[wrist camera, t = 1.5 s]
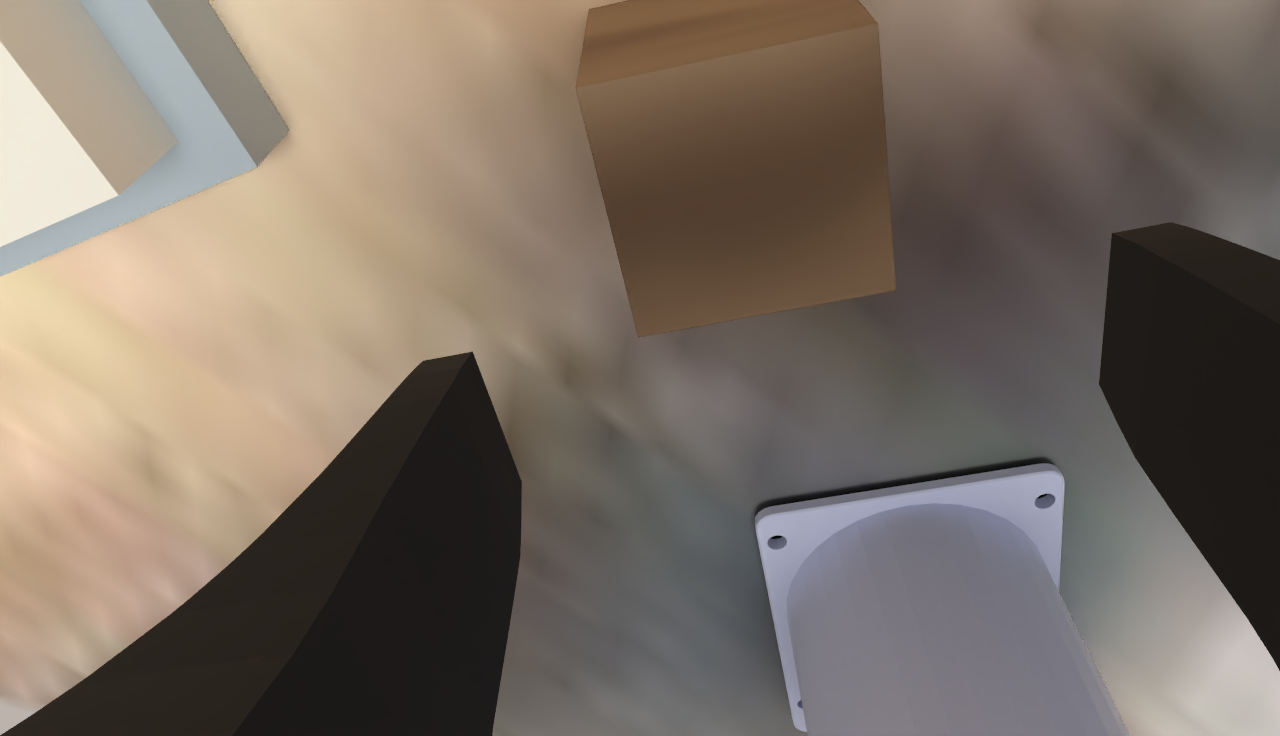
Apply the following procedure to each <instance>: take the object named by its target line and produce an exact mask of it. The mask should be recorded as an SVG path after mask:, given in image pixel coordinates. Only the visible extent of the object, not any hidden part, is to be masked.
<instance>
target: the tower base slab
mask: <svg viewBox="0 0 1280 736" xmlns="http://www.w3.org/2000/svg"><path fill="white" fill-rule="evenodd" d="M80 2H81V3H82V5H83V6H84V7H85V9H86V10H87V12H88V13H89V14H90V16H91V17H92V19H93V20H94V22H95V23H96V24H97V26H98V27H99V29H100V30H101V32H102V33H103V34H104V36H105V37H106V39H107V40H108V41H109V43H110V44H111V46H112V47H113V49H114V50H115V51H116V53H117V54H118V56H119V57H120V59H121V60H122V61H123V63H124V64H125V66H126V67H127V69H128V70H129V71H130V73H131V74H132V76H133V77H134V78H135V80H136V81H137V83H138V84H139V86H140V87H141V88H142V90H143V91H144V93H145V94H146V96H147V97H148V98H149V100H150V101H151V103H152V104H153V105H154V107H155V108H156V110H157V111H158V113H159V114H160V115H161V117H162V118H163V120H164V121H165V123H166V124H167V125H168V127H169V128H170V130H171V131H172V133H173V134H174V135H175V137H176V138H177V140H178V141H179V142H178V143H177V144H175V145H174V146H173V147H172V148H171V149H170V150H169V151H168V152H167V153H165V154H164V155H163V156H162V157H161V158H160V159H159V160H158V161H157V162H155V163H154V164H153V165H152V166H151V167H150V168H149V169H148V170H146V171H145V172H144V173H143V174H142V175H141V176H140V177H139V178H138V179H136V180H135V181H134V182H133V183H132V184H131V185H130V186H129V187H128V188H126V189H125V190H124V191H123V192H122V193H121V194H120V195H119V196H116V197H114V198H112V199H109V200H107V201H105V202H103V203H100V204H98V205H96V206H93V207H91V208H89V209H86V210H84V211H82V212H80V213H77V214H75V215H73V216H70V217H68V218H66V219H63V220H61V221H59V222H57V223H54V224H52V225H50V226H47V227H45V228H43V229H40V230H38V231H36V232H34V233H31V234H29V235H27V236H24V237H22V238H20V239H17V240H15V241H13V242H11V243H8V244H6V245H4V246H1V247H0V276H3V275H5V274H7V273H10V272H12V271H15V270H17V269H19V268H22V267H24V266H26V265H29V264H31V263H33V262H36V261H38V260H40V259H43V258H45V257H47V256H50V255H52V254H54V253H57V252H59V251H61V250H64V249H66V248H68V247H71V246H73V245H75V244H78V243H80V242H82V241H85V240H87V239H90V238H92V237H94V236H97V235H99V234H101V233H104V232H106V231H108V230H111V229H113V228H115V227H118V226H120V225H122V224H125V223H127V222H129V221H132V220H134V219H136V218H139V217H141V216H143V215H146V214H148V213H150V212H153V211H155V210H157V209H160V208H162V207H165V206H167V205H169V204H172V203H174V202H176V201H179V200H181V199H183V198H186V197H188V196H190V195H193V194H195V193H197V192H200V191H202V190H204V189H207V188H209V187H211V186H214V185H216V184H218V183H221V182H223V181H225V180H228V179H230V178H232V177H235V176H237V175H240V174H242V173H244V172H247V171H249V170H251V169H254V168H256V167H258V166H259V164H260V163H261V162H262V161H263V160H264V159H265V158H266V157H267V155H268V154H269V153H270V152H271V151H272V150H273V149H274V147H275V146H276V145H277V144H278V143H279V142H280V141H281V139H282V138H283V137H284V136H285V135H286V134H287V133H288V131H289V128H288V126H287V125H286V123H285V122H284V120H283V118H282V117H281V115H280V114H279V112H278V111H277V109H276V107H275V106H274V104H273V103H272V101H271V99H270V98H269V96H268V95H267V93H266V92H265V90H264V88H263V87H262V85H261V84H260V82H259V81H258V79H257V77H256V76H255V74H254V73H253V71H252V69H251V68H250V66H249V65H248V63H247V62H246V60H245V58H244V57H243V55H242V54H241V52H240V50H239V49H238V47H237V46H236V44H235V43H234V41H233V39H232V38H231V36H230V35H229V33H228V31H227V30H226V28H225V27H224V25H223V24H222V22H221V20H220V19H219V17H218V16H217V14H216V13H215V11H214V9H213V8H212V6H211V5H210V3H209V1H208V0H80Z"/></svg>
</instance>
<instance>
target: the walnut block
mask: <svg viewBox="0 0 1280 736" xmlns="http://www.w3.org/2000/svg"><path fill="white" fill-rule="evenodd" d="M576 91H577V95H578V99H579V103H580V107H581V111H582V115H583V119H584V123H585V127H586V131H587V135H588V139H589V143H590V147H591V151H592V155H593V159H594V163H595V167H596V171H597V175H598V179H599V183H600V187H601V191H602V195H603V199H604V203H605V207H606V211H607V215H608V219H609V223H610V227H611V231H612V235H613V239H614V243H615V247H616V251H617V255H618V259H619V263H620V267H621V271H622V275H623V279H624V282H625V286H626V290H627V294H628V298H629V302H630V306H631V310H632V314H633V318H634V322H635V326H636V330H637V334H638V337H643V336H649V335H654V334H660V333H665V332H671V331H676V330H682V329H687V328H693V327H698V326H704V325H709V324H715V323H720V322H726V321H731V320H737V319H742V318H748V317H753V316H759V315H764V314H770V313H775V312H781V311H786V310H792V309H797V308H803V307H808V306H813V305H819V304H824V303H830V302H835V301H841V300H846V299H852V298H857V297H863V296H868V295H874V294H879V293H885V292H890V291H896V280H895V266H894V251H893V237H892V222H891V208H890V193H889V178H888V164H887V149H886V135H885V120H884V106H883V91H882V77H881V62H880V48H879V33H878V23H877V22H876V21H875V20H874V19H873V17H872V16H871V15H870V14H869V13H868V11H867V10H866V9H865V8H864V7H863V6H862V4H861V3H860V2H859V1H858V0H628V1H624V2H619V3H615V4H610V5H606V6H601V7H597V8H592V9H589V13H588V19H587V25H586V31H585V37H584V43H583V49H582V55H581V61H580V66H579V72H578V78H577V84H576Z"/></svg>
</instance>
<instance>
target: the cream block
mask: <svg viewBox="0 0 1280 736" xmlns="http://www.w3.org/2000/svg"><path fill="white" fill-rule="evenodd" d="M178 142H179V141H178V140H177V138H176V137H175V135H174V134H173V133H172V131H171V130H170V128H169V127H168V125H167V124H166V123H165V121H164V120H163V118H162V117H161V115H160V114H159V113H158V111H157V110H156V108H155V107H154V105H153V104H152V103H151V101H150V100H149V98H148V97H147V96H146V94H145V93H144V91H143V90H142V88H141V87H140V86H139V84H138V83H137V81H136V80H135V78H134V77H133V76H132V74H131V73H130V71H129V70H128V69H127V67H126V66H125V64H124V63H123V61H122V60H121V59H120V57H119V56H118V54H117V53H116V51H115V50H114V49H113V47H112V46H111V44H110V43H109V41H108V40H107V39H106V37H105V36H104V34H103V33H102V32H101V30H100V29H99V27H98V26H97V24H96V23H95V22H94V20H93V19H92V17H91V16H90V14H89V13H88V12H87V10H86V9H85V7H84V6H83V5H82V3H81V2H80V0H0V247H1V246H4V245H6V244H8V243H11V242H13V241H15V240H17V239H20V238H22V237H24V236H27V235H29V234H31V233H34V232H36V231H38V230H40V229H43V228H45V227H47V226H50V225H52V224H54V223H57V222H59V221H61V220H63V219H66V218H68V217H70V216H73V215H75V214H77V213H80V212H82V211H84V210H86V209H89V208H91V207H93V206H96V205H98V204H100V203H103V202H105V201H107V200H109V199H112V198H114V197H116V196H119V195H120V194H121V193H122V192H123V191H124V190H125V189H126V188H128V187H129V186H130V185H131V184H132V183H133V182H134V181H135V180H136V179H138V178H139V177H140V176H141V175H142V174H143V173H144V172H145V171H146V170H148V169H149V168H150V167H151V166H152V165H153V164H154V163H155V162H157V161H158V160H159V159H160V158H161V157H162V156H163V155H164V154H165V153H167V152H168V151H169V150H170V149H171V148H172V147H173V146H174V145H175V144H177V143H178Z"/></svg>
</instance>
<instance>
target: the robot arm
mask: <svg viewBox="0 0 1280 736" xmlns="http://www.w3.org/2000/svg"><path fill="white" fill-rule="evenodd" d="M1099 385H1100V387H1101V389H1102V391H1103V393H1104V396H1105V398H1106V400H1107V402H1108V404H1109V406H1110V408H1111V410H1112V412H1113V415H1114V417H1115V419H1116V421H1117V423H1118V425H1119V427H1120V429H1121V431H1122V433H1123V435H1124V437H1125V439H1126V441H1127V443H1128V444H1129V446H1130V448H1131V450H1132V452H1133V454H1134V456H1135V458H1136V459H1137V461H1138V462H1139V464H1140V465H1141V467H1142V468H1143V470H1144V471H1145V473H1146V474H1147V476H1148V477H1149V479H1150V480H1151V482H1152V483H1153V484H1154V486H1155V487H1156V489H1157V490H1158V492H1159V493H1160V495H1161V496H1162V498H1163V499H1164V500H1165V502H1166V503H1167V505H1168V506H1169V508H1170V509H1171V511H1172V512H1173V513H1174V515H1175V516H1176V518H1177V519H1178V521H1179V522H1180V523H1181V525H1182V526H1183V528H1184V529H1185V531H1186V532H1187V533H1188V535H1189V536H1190V538H1191V539H1192V540H1193V542H1194V543H1195V545H1196V546H1197V548H1198V549H1199V550H1200V552H1201V553H1202V555H1203V556H1204V558H1205V559H1206V560H1207V562H1208V563H1209V565H1210V566H1211V567H1212V569H1213V570H1214V572H1215V573H1216V575H1217V576H1218V577H1219V579H1220V580H1221V582H1222V583H1223V585H1224V586H1225V587H1226V589H1227V590H1228V592H1229V593H1230V594H1231V596H1232V597H1233V599H1234V600H1235V602H1236V603H1237V604H1238V606H1239V607H1240V609H1241V610H1242V612H1243V613H1244V614H1245V616H1246V617H1247V619H1248V620H1249V622H1250V623H1251V625H1252V626H1253V628H1254V630H1255V631H1256V633H1257V634H1258V636H1259V637H1260V639H1261V640H1262V642H1263V644H1264V645H1265V647H1266V648H1267V650H1268V651H1269V653H1270V655H1271V656H1272V658H1273V659H1274V661H1275V663H1276V665H1277V667H1278V668H1279V670H1280V260H1277V259H1275V258H1272V257H1269V256H1267V255H1264V254H1262V253H1259V252H1256V251H1254V250H1251V249H1248V248H1246V247H1243V246H1240V245H1238V244H1235V243H1232V242H1230V241H1227V240H1224V239H1221V238H1219V237H1216V236H1213V235H1210V234H1207V233H1205V232H1202V231H1199V230H1195V229H1192V228H1189V227H1186V226H1182V225H1178V224H1175V223H1165V224H1160V225H1154V226H1149V227H1144V228H1138V229H1133V230H1127V231H1122V232H1117V233H1112V239H1111V251H1110V263H1109V274H1108V286H1107V298H1106V310H1105V321H1104V333H1103V345H1102V357H1101V368H1100V380H1099ZM1064 488H1065V481H1064V477H1063V475H1062V474H1061V472H1060V470H1059V469H1058V468H1057V467H1056V466H1055V465H1052V464H1049V463H1041V464H1035V465H1028V466H1022V467H1016V468H1009V469H1003V470H997V471H991V472H984V473H978V474H972V475H965V476H959V477H953V478H947V479H940V480H934V481H928V482H921V483H915V484H909V485H902V486H896V487H890V488H884V489H877V490H871V491H865V492H858V493H852V494H846V495H840V496H833V497H827V498H821V499H814V500H808V501H802V502H795V503H789V504H783V505H777V506H771V507H767V508H764V509H763V510H761V511H760V512H758V514H757V515H756V517H755V528H756V534H757V539H758V544H759V549H760V554H761V560H762V565H763V570H764V575H765V580H766V585H767V590H768V595H769V601H770V606H771V611H772V616H773V621H774V626H775V631H776V637H777V642H778V647H779V652H780V657H781V662H782V667H783V673H784V678H785V683H786V688H787V693H788V698H789V703H790V709H791V714H792V719H793V724H794V726H795V728H797V729H798V730H800V731H804V732H807V736H1130V734H1129V732H1128V730H1127V728H1126V726H1125V724H1124V722H1123V720H1122V718H1121V716H1120V714H1119V712H1118V710H1117V708H1116V706H1115V704H1114V702H1113V700H1112V698H1111V696H1110V694H1109V692H1108V690H1107V688H1106V686H1105V684H1104V682H1103V680H1102V678H1101V676H1100V674H1099V672H1098V670H1097V667H1096V665H1095V663H1094V661H1093V659H1092V657H1091V655H1090V653H1089V651H1088V649H1087V647H1086V645H1085V643H1084V641H1083V639H1082V637H1081V635H1080V633H1079V631H1078V629H1077V627H1076V625H1075V623H1074V621H1073V619H1072V617H1071V615H1070V613H1069V611H1068V609H1067V607H1066V605H1065V603H1064V601H1063V599H1062V597H1061V595H1060V593H1059V583H1060V564H1061V545H1062V526H1063V507H1064ZM521 489H522V482H521V479H520V476H519V474H518V471H517V468H516V466H515V463H514V460H513V458H512V455H511V452H510V450H509V447H508V444H507V442H506V439H505V436H504V434H503V431H502V428H501V426H500V423H499V420H498V418H497V415H496V412H495V410H494V407H493V405H492V402H491V399H490V397H489V394H488V391H487V389H486V386H485V383H484V381H483V378H482V375H481V373H480V370H479V367H478V365H477V362H476V359H475V357H474V354H473V352H469V353H463V354H458V355H453V356H447V357H442V358H436V359H431V360H426V361H422V362H421V363H420V364H419V365H418V366H417V367H416V368H415V369H414V370H413V371H412V372H411V373H410V374H409V375H408V376H407V378H406V379H405V380H404V381H403V382H402V383H401V384H400V385H399V386H398V388H397V389H396V390H395V391H394V392H393V393H392V394H391V395H390V397H389V398H388V399H387V400H386V401H385V402H384V403H383V405H382V406H381V407H380V408H379V409H378V410H377V411H376V413H375V414H374V415H373V416H372V417H371V418H370V419H369V421H368V422H367V423H366V424H365V425H364V426H363V427H362V428H361V430H360V431H359V432H358V433H357V434H356V435H355V436H354V437H353V439H352V440H351V441H350V442H349V443H348V444H347V445H346V446H345V448H344V449H343V450H342V451H341V452H340V453H339V454H338V455H337V457H336V458H335V459H334V460H333V461H332V462H331V463H330V464H329V465H328V467H327V468H326V469H325V470H324V471H323V472H322V473H321V474H320V475H319V476H318V477H317V478H316V479H315V480H314V481H313V482H312V483H311V484H310V485H309V486H308V487H307V488H306V490H305V491H304V492H303V493H302V494H301V495H300V496H299V497H298V498H297V499H296V500H295V501H294V502H293V503H292V504H291V505H290V506H289V507H288V508H287V509H286V510H285V511H284V512H283V513H282V514H281V515H280V516H279V517H278V518H277V519H276V520H275V521H274V522H273V523H272V524H271V525H270V526H269V527H268V528H267V529H266V530H265V532H264V533H262V534H261V535H260V536H259V537H258V538H257V539H256V540H255V541H254V542H253V543H252V544H251V545H250V546H249V547H248V548H247V549H246V550H244V551H243V552H242V553H241V554H240V555H239V556H238V557H237V558H236V559H235V560H234V561H232V562H231V563H230V564H229V565H228V566H227V567H226V568H225V569H224V570H222V571H221V572H220V573H219V574H218V575H217V576H215V577H214V578H213V579H212V580H211V581H210V582H208V583H207V584H206V585H205V586H204V587H203V588H201V589H200V590H199V591H198V592H197V593H196V594H194V595H193V596H192V597H191V598H190V599H189V600H187V601H186V602H185V603H184V604H183V605H181V606H180V607H179V608H178V609H176V610H175V611H174V612H173V613H172V614H170V615H169V616H168V617H166V618H165V619H164V620H162V621H161V622H160V623H158V624H157V625H156V626H154V627H153V628H152V629H150V630H149V631H148V632H147V633H145V634H144V635H143V636H141V637H140V638H139V639H137V640H136V641H135V642H133V643H132V644H131V645H129V646H128V647H127V648H125V649H124V650H123V651H121V652H120V653H119V654H117V655H116V656H115V657H113V658H112V659H111V660H109V661H108V662H107V663H105V664H104V665H103V666H102V667H100V668H99V669H98V670H96V671H95V672H94V673H92V674H91V675H90V676H88V677H87V678H85V679H84V680H83V681H81V682H80V683H78V684H77V685H75V686H74V687H72V688H71V689H70V690H68V691H67V692H65V693H64V694H62V695H61V696H59V697H58V698H56V699H55V700H53V701H52V702H50V703H49V704H47V705H46V706H45V707H43V708H42V709H40V710H39V711H37V712H36V713H34V714H33V715H31V716H30V717H28V718H27V719H25V720H24V721H22V722H20V723H19V724H17V725H16V726H14V727H13V728H11V729H10V730H8V731H6V732H5V733H3V734H2V735H0V736H492V732H493V724H494V717H495V711H496V705H497V699H498V693H499V687H500V681H501V674H502V668H503V662H504V656H505V650H506V644H507V638H508V632H509V625H510V619H511V613H512V607H513V600H514V594H515V587H516V581H517V574H518V567H519V560H520V546H521ZM1042 494H1047V495H1046V496H1045V497H1042V498H1037V497H1039V496H1040V495H1042ZM776 535H779V536H782V537H781V538H779V539H771V537H773V536H776Z"/></svg>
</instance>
